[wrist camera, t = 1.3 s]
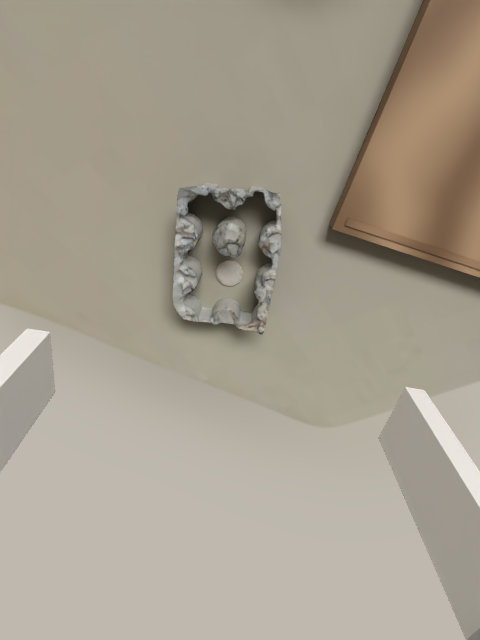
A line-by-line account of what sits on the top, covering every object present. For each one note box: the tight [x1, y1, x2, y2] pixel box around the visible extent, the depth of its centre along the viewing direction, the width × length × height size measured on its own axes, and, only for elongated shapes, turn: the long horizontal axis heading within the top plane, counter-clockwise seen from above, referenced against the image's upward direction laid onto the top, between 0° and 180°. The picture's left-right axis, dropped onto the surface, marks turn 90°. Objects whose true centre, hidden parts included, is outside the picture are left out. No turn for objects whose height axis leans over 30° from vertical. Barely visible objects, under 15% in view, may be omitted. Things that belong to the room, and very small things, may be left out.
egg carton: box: [173, 183, 281, 334], centre depth 27 cm, size 11×8×4 cm
